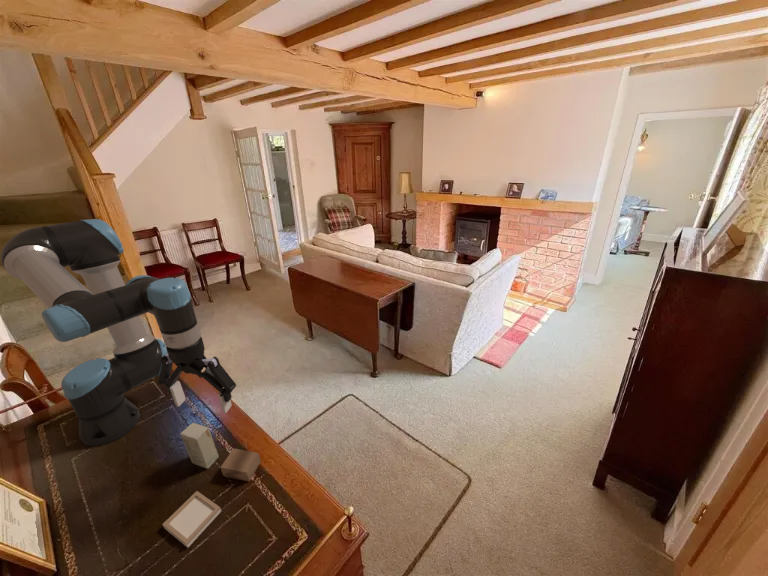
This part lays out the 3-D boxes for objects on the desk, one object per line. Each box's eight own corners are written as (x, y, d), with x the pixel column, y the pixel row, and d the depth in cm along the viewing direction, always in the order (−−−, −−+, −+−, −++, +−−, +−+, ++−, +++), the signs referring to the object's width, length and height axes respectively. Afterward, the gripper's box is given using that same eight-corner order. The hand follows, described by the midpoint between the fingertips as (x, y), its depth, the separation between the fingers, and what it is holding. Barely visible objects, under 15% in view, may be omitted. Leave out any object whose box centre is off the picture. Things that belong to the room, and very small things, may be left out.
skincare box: (219, 456, 94) (210, 427, 89) (207, 469, 90) (197, 440, 85) (202, 450, 96) (192, 421, 91) (190, 462, 92) (179, 433, 87)
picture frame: (164, 528, 77) (162, 524, 76) (198, 494, 84) (196, 490, 83) (187, 547, 73) (186, 544, 72) (221, 511, 80) (220, 507, 80)
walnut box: (223, 476, 89) (220, 467, 87) (236, 457, 94) (233, 448, 92) (249, 481, 87) (246, 472, 86) (260, 462, 93) (258, 453, 91)
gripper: (123, 344, 74) (151, 410, 83) (222, 356, 71) (239, 423, 80) (149, 327, 80) (172, 390, 90) (240, 337, 77) (254, 401, 87)
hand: (204, 406), depth 85 cm, fingers open, 13 cm apart
